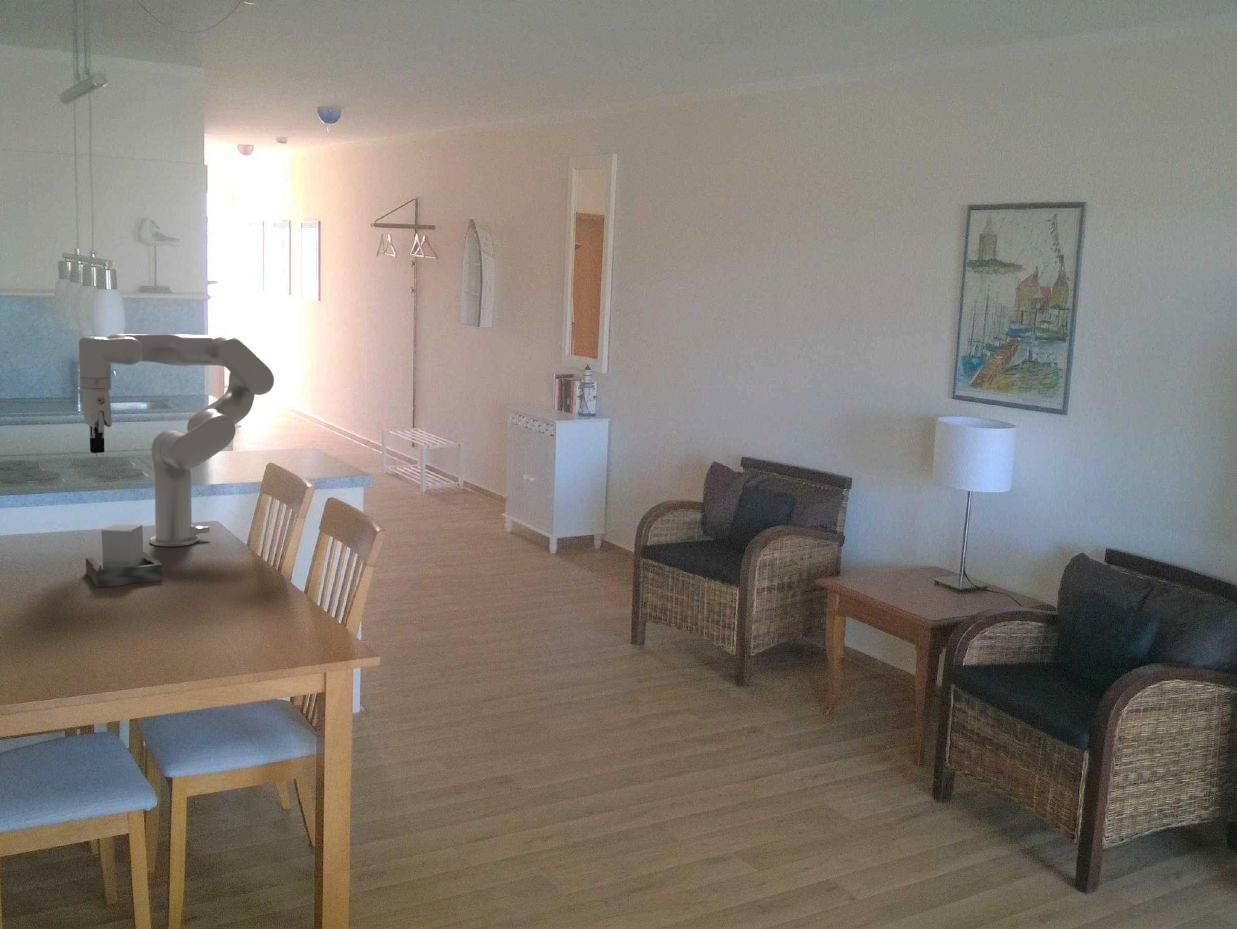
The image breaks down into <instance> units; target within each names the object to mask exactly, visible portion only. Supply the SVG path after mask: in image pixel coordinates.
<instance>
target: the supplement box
mask: <svg viewBox="0 0 1237 929" xmlns="http://www.w3.org/2000/svg"><path fill="white" fill-rule="evenodd" d="M101 546H102V547H101V548H102V549H101V550H102V553H101V554H102V569H103V570H106V569H115V568H124V567H133V566H142V565H143V552H144V536H143V525H142V524H126V523H113V524H111V525H109V526H108V527H107V526H106V528H103V529H101Z"/></svg>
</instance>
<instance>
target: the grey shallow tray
mask: <svg viewBox="0 0 1237 929" xmlns="http://www.w3.org/2000/svg"><path fill="white" fill-rule="evenodd" d="M85 574H86V575H87V576H88V577H89V578H90V579H91V580H92V583H93V584H94V585H95V586H96V587H97V588H107V587H115V586H116V587H117V586H122V585H133V584H141V583H143V584H144V583H149V582H157V581H158V582H159V581H163V580H164V578H163V564H162V563H161V562H160V561H159V560H157V559H154V558H152V557H151V556H150V555H149V554H148V553H146V552H145V551H143V565H142V566H133V567H124V568H115V569H106V570H103V567H102V565H101V564H100V563H99V562H98V561H97V560H96V559H95V558H93V557H92V556H91V557H86V558H85Z"/></svg>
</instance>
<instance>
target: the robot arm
mask: <svg viewBox="0 0 1237 929" xmlns="http://www.w3.org/2000/svg"><path fill="white" fill-rule="evenodd" d="M78 359H79V360H78V362H79V363H78V364H79V368H78V369H79V390H82V391H83V419H84V422H85V424H86V425H88V428H89V451H90V452H91V453H92V454H99V453H100V454H101V453H102V454H103V453H105V427H107V428H111V427H112V425H113V424H112V423H113V422H112V408H111V407H112V406H111V405H112V404H111V397H110V390H112V364H115V365H123V366H132V365H133V366H134V365H136V364H137V363H140V362H145V363H146V362H147V363H148V362H150V363H158V364H163V365H168V366H179V367H181V366H184V367H185V366H220V367H225V368H226V369H227V371H228V372H229V376H228V385H227V386H228V387H227V389H226V391H225V393H224V394H223V395H222V396H221V397H219V398H218V399H216V400H215V401H214V402H212V403H211V404H209V405H207V406H206V407H204V408H203V409H201V410H200V411H198V412H196V413H195V414H194V415H192V416H191V417H190V419H189V420H188V422H187V425H186V430H187V432H186V433H185V432H180V431H177V430H172V429H171V430H170V429H169V430H165V431H161V432H160V433H158V434H157V435H156V436H155V437H154V439H153V441H152V444H151V457H152V463H153V465H152V466H153V470H154V508H155V509H154V510H155V512H154V515H155V517H154V518H155V535H153V536H150V538H149V544H151V545H153V546H156V547H165V548H166V547H168V548H169V547H172V548H173V547H174V548H175V547H176V548H177V547H183V546H190V545H194V544H196V543H197V542H198V540H199V539H198V538H199V537H198V535H199V534H200V535H201V534H209V533H210V526H202V525H198V526H196V525H193V519H192V518H193V517H192V473H191V469H194V468H197V467H198V466H200V465H202V464H203V463H205V462H206V461H208V460H209V459H211V458H212V457H214V456H216V455H217V454H218V453H220V452H221V451H223V450H224V449H225V448H227V447H228V446H229V445H230V444H231V443H232V441H233V440H234V438H235V435H236V425H237V424H238V423H239V422H241V421H242V420H243V419H244V418H246V416H248V414H249V413H250V412H251V409H252V407H253V404H254V400H255V395H256V396H261V395H265V394H267V393H269V392H270V391H271V390H272V388H273V386H274V384H275V377H274V374H273V372H272V371H271V369H270V368H269V367H268V365H266V363H264V362H263V361H262V360H261V359H260V358H259V357H258V356H257V355H256V354H255V353H254V352H253V351H251V349H250V348H249V347H248V346H247V345H245V344H244V343H243V342H242V341H241V340H239V339H237V338H235V337H230V336H226V335H219V334H142V333H141V334H138V333H137V334H135V333H134V334H131V333H129V334H128V333H126V334H124V333H115V334H111V335H109V336H107V337H106V336H105V337H104V336H98V335H97V336H96V335H94V336H93V335H89V336H88V335H87V336H82V337H81V338H80V339H79V341H78Z"/></svg>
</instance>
